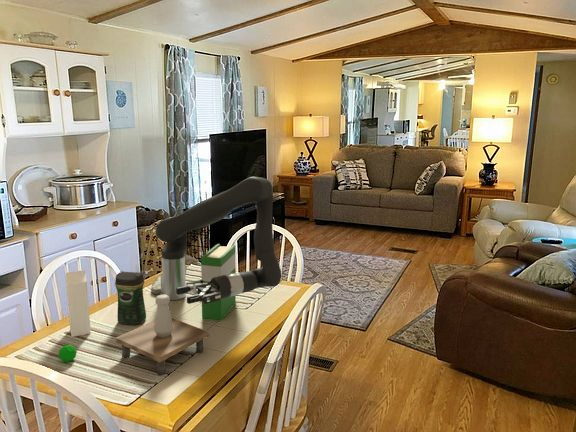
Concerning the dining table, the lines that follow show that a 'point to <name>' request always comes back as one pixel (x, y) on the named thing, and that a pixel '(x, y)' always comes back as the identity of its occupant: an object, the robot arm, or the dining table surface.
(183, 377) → the dining table surface
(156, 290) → the long grey stone
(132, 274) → the coffee jar
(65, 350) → the polyhedron
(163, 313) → the salt shaker
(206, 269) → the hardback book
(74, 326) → the milk
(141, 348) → the small wooden table
